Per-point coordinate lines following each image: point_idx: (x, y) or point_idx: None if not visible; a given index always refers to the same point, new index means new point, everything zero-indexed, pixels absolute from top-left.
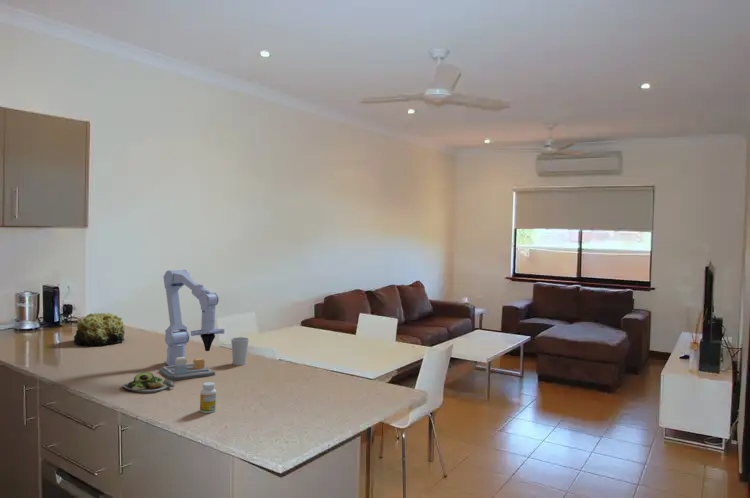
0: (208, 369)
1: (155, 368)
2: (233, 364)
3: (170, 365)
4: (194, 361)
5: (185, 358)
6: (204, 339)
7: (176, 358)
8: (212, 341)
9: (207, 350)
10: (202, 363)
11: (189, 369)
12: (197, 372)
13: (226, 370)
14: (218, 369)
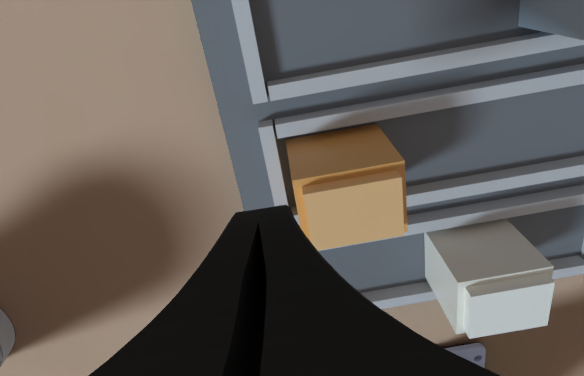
0: (254, 67)
1: (580, 327)
2: (3, 313)
3: (483, 352)
4: (404, 194)
5: (471, 293)
6: (444, 357)
7: (542, 318)
8: (133, 338)
9: (272, 210)
10: (313, 163)
11: (411, 186)
12: (374, 47)
13: (63, 147)
14: (141, 200)
